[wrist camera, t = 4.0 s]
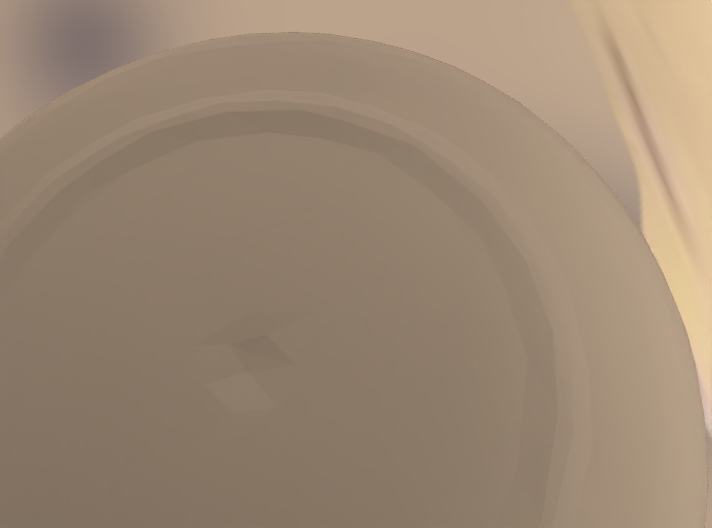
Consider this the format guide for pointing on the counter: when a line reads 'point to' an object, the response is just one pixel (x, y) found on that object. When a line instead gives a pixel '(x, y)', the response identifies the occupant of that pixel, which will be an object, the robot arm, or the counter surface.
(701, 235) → the counter surface
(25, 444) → the sprinkles bottle
